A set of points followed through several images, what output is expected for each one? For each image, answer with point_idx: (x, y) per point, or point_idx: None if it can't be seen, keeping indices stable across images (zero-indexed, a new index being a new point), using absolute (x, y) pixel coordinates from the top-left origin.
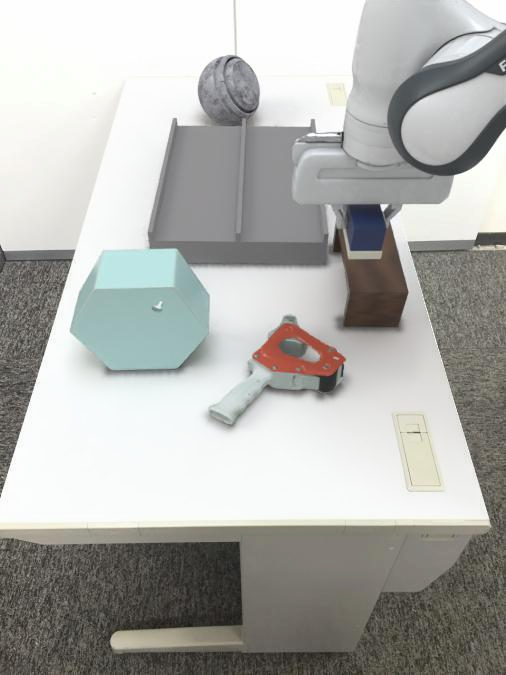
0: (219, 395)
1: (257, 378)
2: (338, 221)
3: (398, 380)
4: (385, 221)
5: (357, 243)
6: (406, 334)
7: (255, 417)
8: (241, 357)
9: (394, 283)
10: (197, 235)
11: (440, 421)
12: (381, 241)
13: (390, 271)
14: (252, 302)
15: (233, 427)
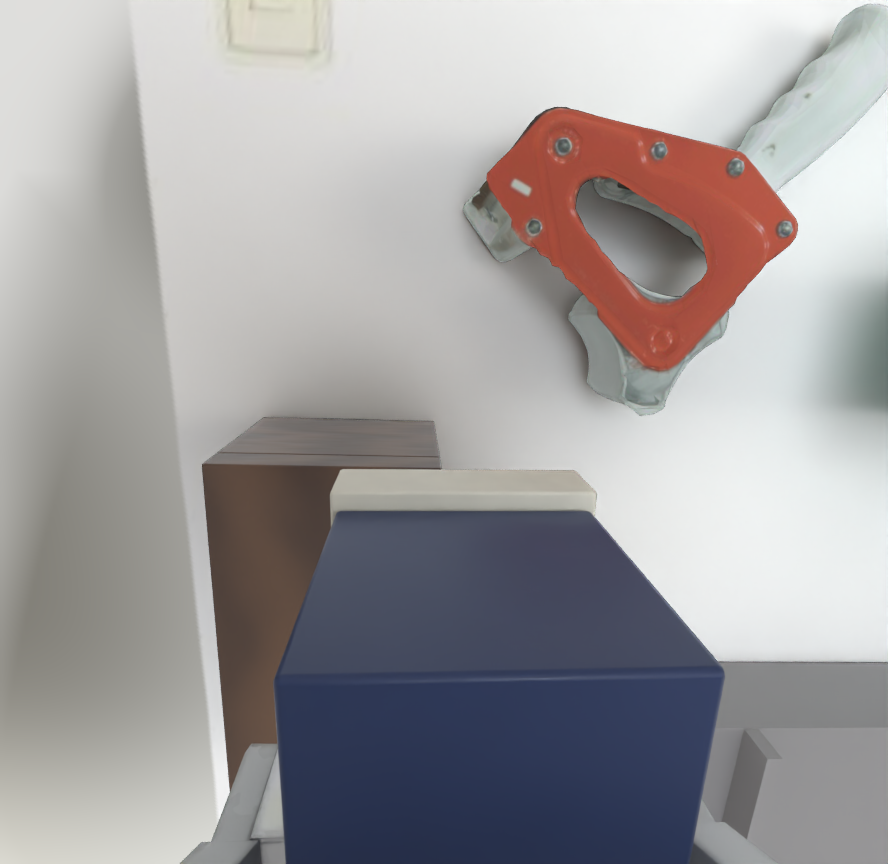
0: (838, 165)
1: (771, 160)
2: (702, 800)
3: (290, 198)
4: (264, 813)
5: (567, 546)
6: (240, 386)
7: (750, 72)
8: (751, 310)
9: (255, 513)
10: (872, 750)
11: (174, 15)
12: (339, 559)
13: (264, 576)
14: (684, 519)
15: (820, 36)
